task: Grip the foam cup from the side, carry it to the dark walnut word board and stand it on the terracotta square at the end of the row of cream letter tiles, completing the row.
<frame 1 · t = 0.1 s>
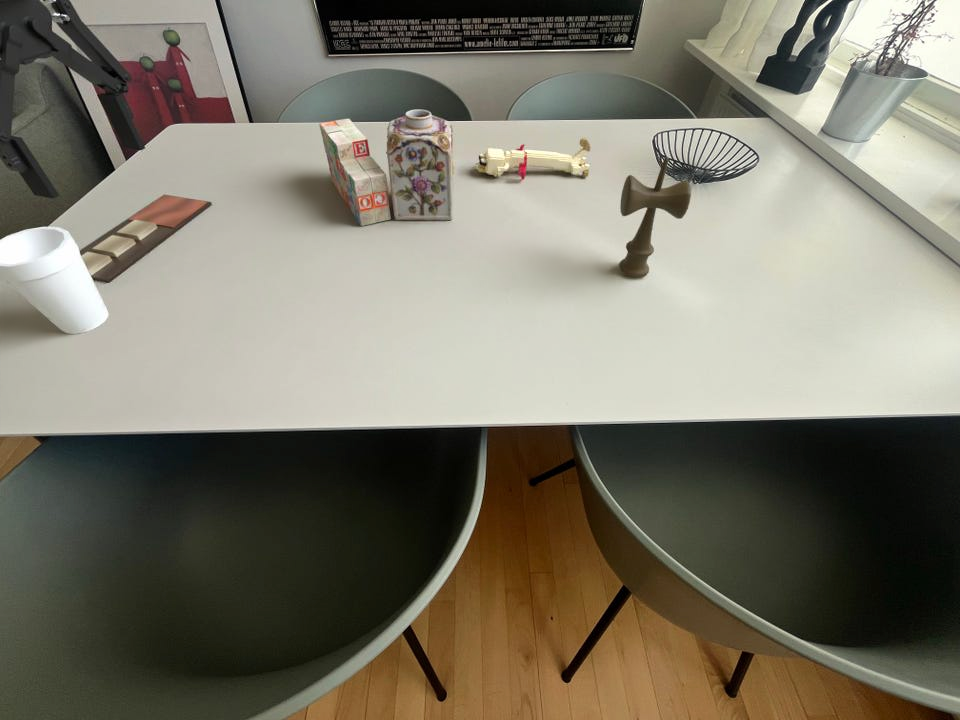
hand: (94, 170, 59), 22 cm above the table, tool pointing down, fingers open, 13 cm apart
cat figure: (530, 174, 109), on the table
decorative jar: (425, 207, 98), on the table
kendama: (632, 272, 84), on the table
stack of blocks: (360, 200, 100), on the table
word board: (140, 235, 89), on the table
foam cup: (85, 320, 73), on the table
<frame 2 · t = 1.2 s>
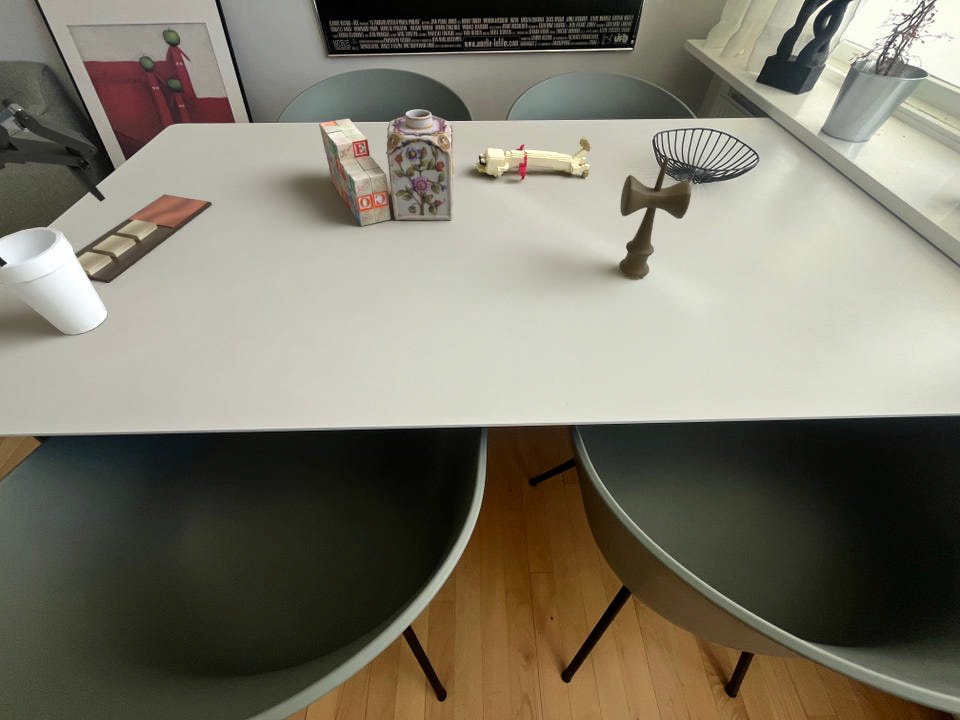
hand: (48, 224, 62), 16 cm above the table, tool tilted 35°, fingers open, 13 cm apart
foam cup: (84, 321, 72), on the table, touching gripper
everything else where it was.
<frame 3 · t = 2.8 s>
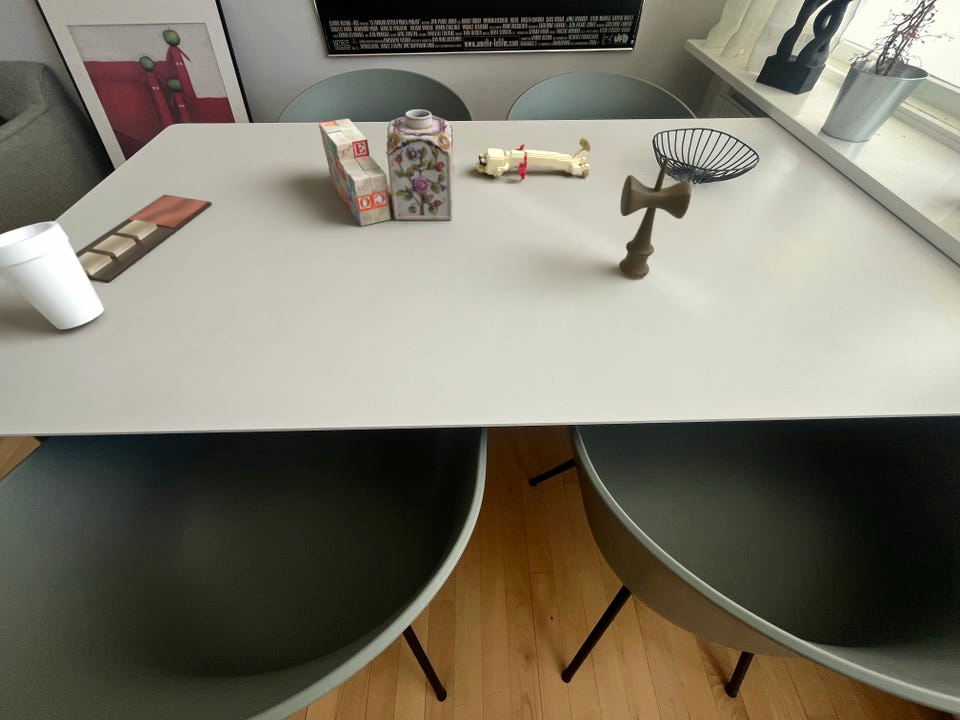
foam cup: (81, 318, 72), point 1 cm above the table
everything else where it was.
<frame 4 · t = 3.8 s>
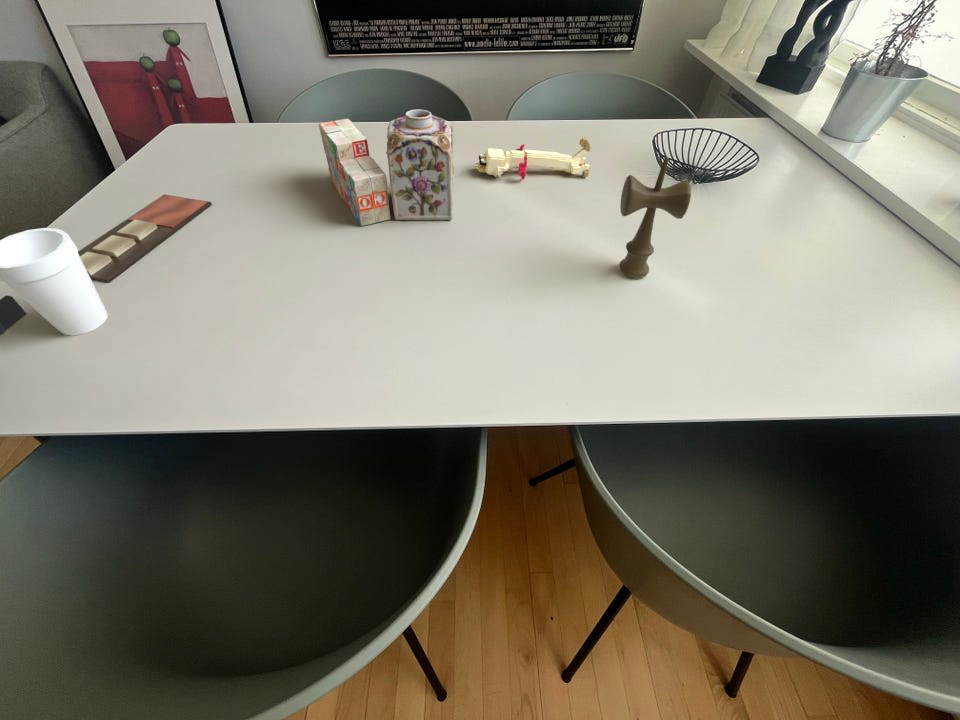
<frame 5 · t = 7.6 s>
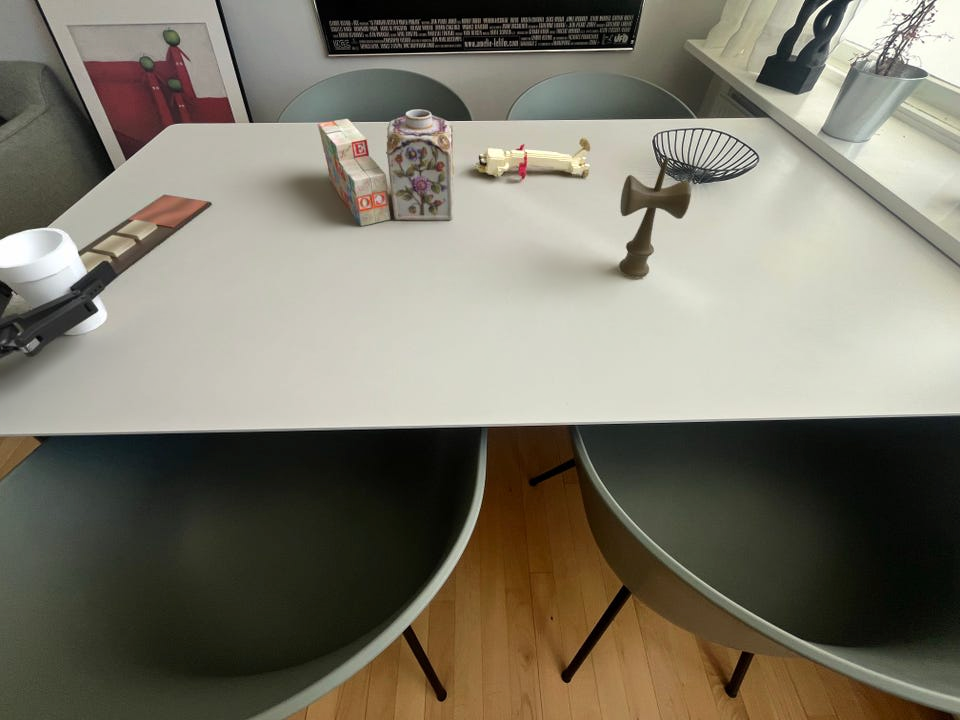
hand: (79, 264, 70), 7 cm above the table, tool horizontal, fingers closed on foam cup, 9 cm apart
foam cup: (84, 322, 72), on the table, touching gripper
everything else where it was.
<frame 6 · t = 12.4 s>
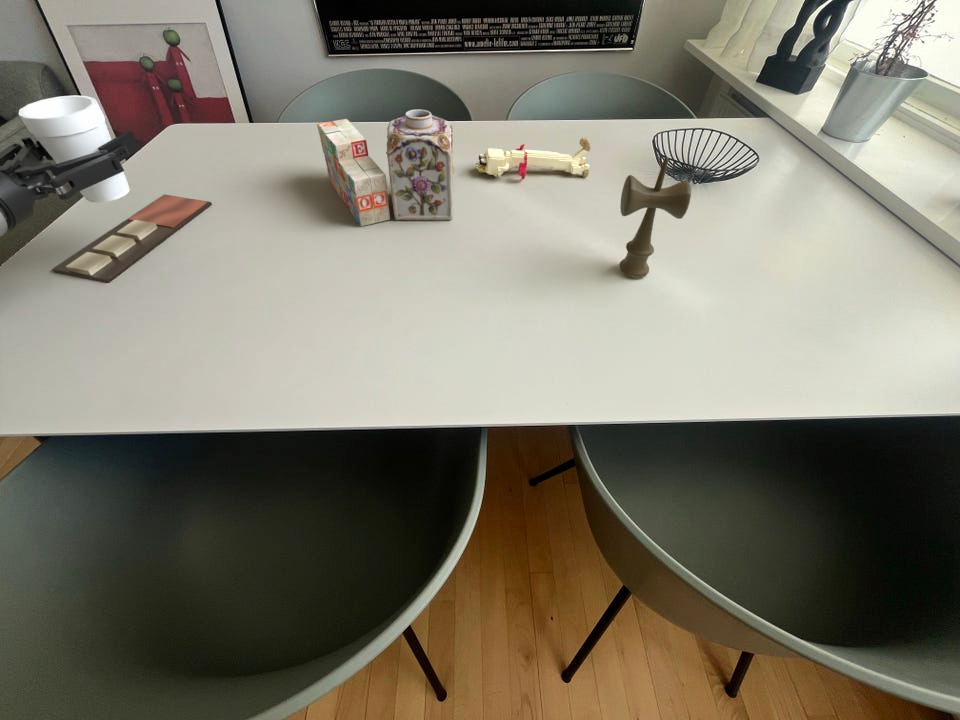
hand: (105, 137, 76), 18 cm above the table, tool horizontal, fingers closed on foam cup, 9 cm apart
foam cup: (108, 194, 78), point 11 cm above the table, touching gripper
everything else where it was.
when the fingers open (8 cm above the table, at t = 17.3 s): foam cup stays where it is, resting on word board.
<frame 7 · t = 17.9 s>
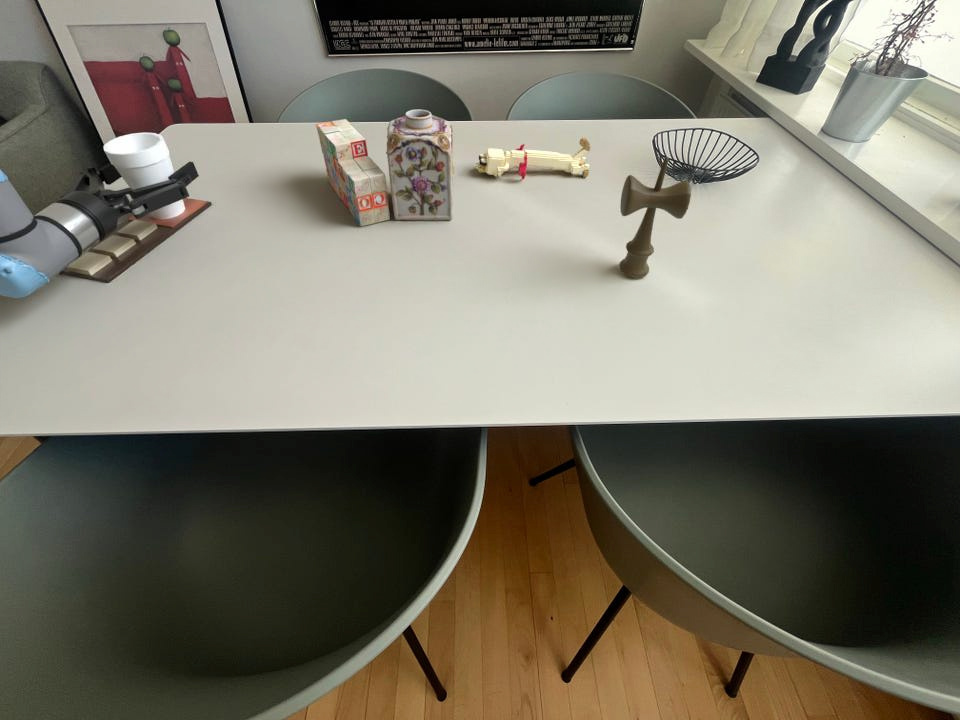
hand: (161, 165, 90), 8 cm above the table, tool horizontal, fingers open, 13 cm apart
foam cup: (168, 212, 93), point 1 cm above the table, touching word board
everything else where it was.
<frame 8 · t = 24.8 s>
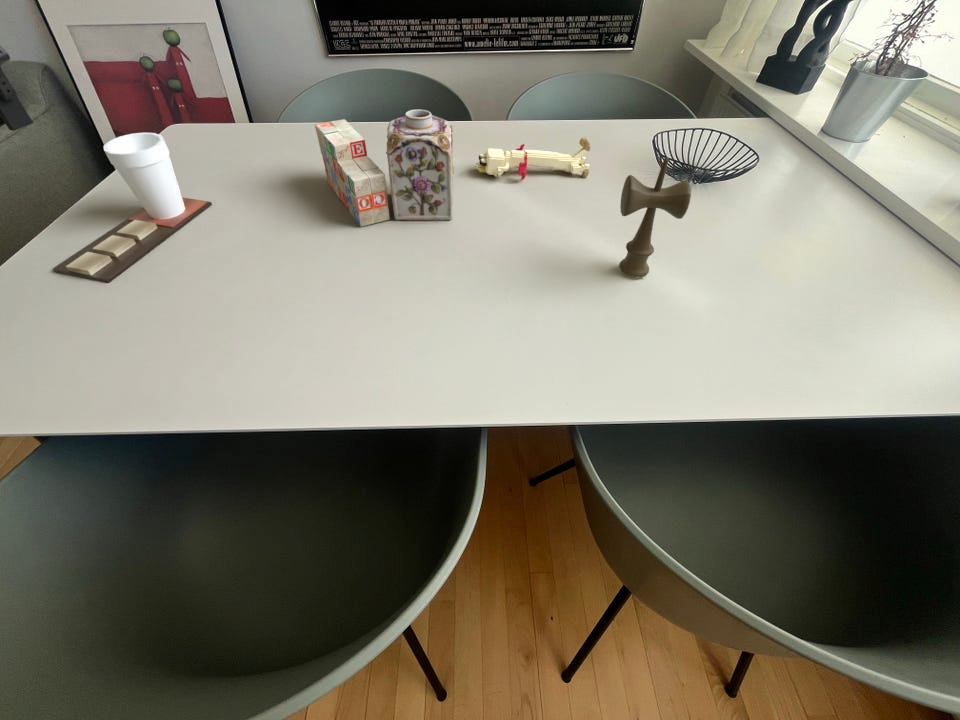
nothing on the table moved.
at the end: foam cup 0.3 cm from the target spot on the word board, point 0.6 cm above the word board's base; foam cup tilted 0°; the gripper is holding nothing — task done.
